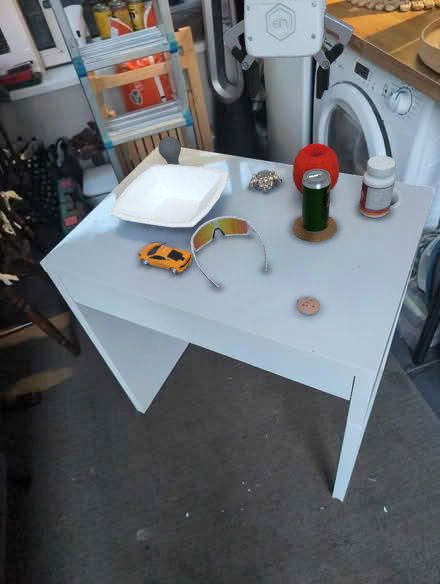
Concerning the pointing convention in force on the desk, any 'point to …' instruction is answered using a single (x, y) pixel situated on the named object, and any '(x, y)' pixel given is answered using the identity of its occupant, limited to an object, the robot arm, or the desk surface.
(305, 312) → the cookie
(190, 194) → the bowl
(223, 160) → the desk surface
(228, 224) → the sunglasses
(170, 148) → the light bulb
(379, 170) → the pill bottle
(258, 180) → the ornament
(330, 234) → the coaster
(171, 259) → the toy car
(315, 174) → the beer can
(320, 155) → the apple
